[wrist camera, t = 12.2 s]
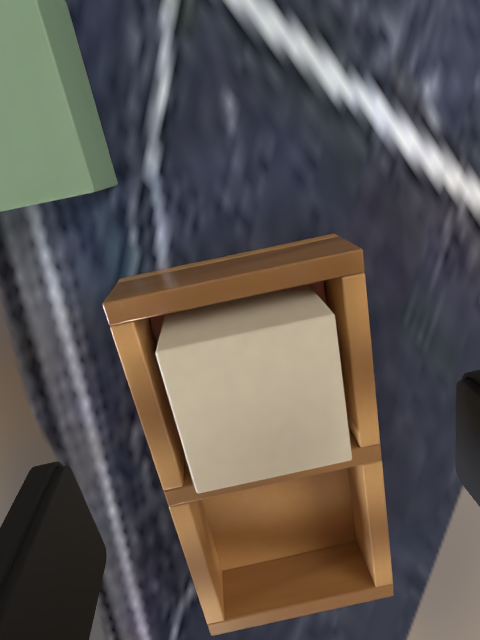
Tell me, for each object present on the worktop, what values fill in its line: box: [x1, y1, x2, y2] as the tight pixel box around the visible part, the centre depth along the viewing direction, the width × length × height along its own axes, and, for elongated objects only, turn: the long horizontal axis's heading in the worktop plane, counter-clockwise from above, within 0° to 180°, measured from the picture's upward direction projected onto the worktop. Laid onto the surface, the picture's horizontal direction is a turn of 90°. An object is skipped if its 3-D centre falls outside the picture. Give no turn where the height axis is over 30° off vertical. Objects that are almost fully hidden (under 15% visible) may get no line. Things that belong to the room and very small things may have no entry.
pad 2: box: [156, 284, 352, 493], centre depth 15 cm, size 6×6×4 cm
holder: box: [103, 234, 394, 636], centre depth 18 cm, size 16×8×3 cm, turn 11°
